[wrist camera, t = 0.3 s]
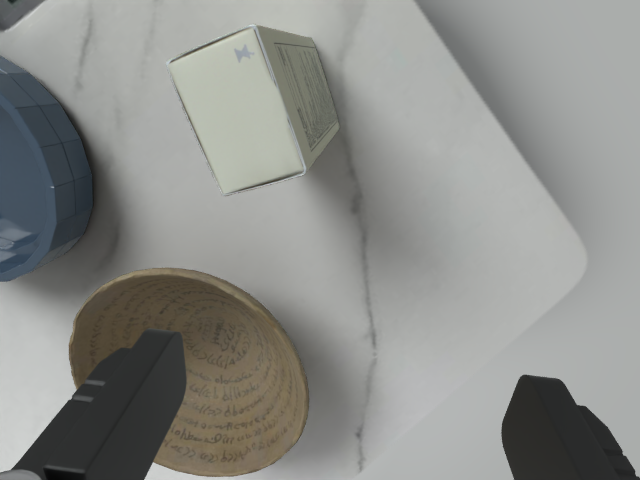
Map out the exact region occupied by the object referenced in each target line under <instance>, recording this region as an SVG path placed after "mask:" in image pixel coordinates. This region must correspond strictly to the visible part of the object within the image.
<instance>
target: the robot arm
mask: <svg viewBox="0 0 640 480" xmlns="http://www.w3.org/2000/svg"><path fill="white" fill-rule="evenodd" d="M186 383H187V377H186V367H185V357H184V347H183V338H182V334H181V333H180V332H177V331H168V330H160V329H152V328H148V329H146V330H145V331H144V332H143V333H142V335H141V336H140V337H139V339H138V340H137V341H136V343H135V344H134V345H133V347H132V348H131V349H130V348H122V347H121V348H120V349H118V350H117V351H115V352H114V353H112V354H111V355H109V356H108V357H106V358H105V359H103V360H102V361H100V362H99V364H98V365H97V366H96V367H95V369H94V370H93V371H92V372H91V373H90V375H89V376H88V377H87V378H86V380H85V383H84V384H81V386H80V387H79V388H78V389H77V391H76V392H75V393H74V394H73V396H72V399H71V400H68V402H67V403H66V404H65V405H64V407H63V408H62V409H61V410H60V411H59V413H58V414H57V415H56V416H55V418H54V419H53V420H52V421H51V422H50V424H49V425H48V426H47V427H46V429H45V430H44V431H43V432H42V434H41V435H40V436H39V437H38V438H37V440H36V441H35V442H34V443H33V445H32V446H31V447H30V448H29V449H28V451H27V452H26V453H25V454H24V456H23V457H22V458H21V459H20V461H19V462H18V463H17V464H16V465H15V466H14V467H13V468H12V469H11V470H9V471H4V472H1V473H0V480H144V479H145V477H146V475H147V473H148V471H149V469H150V467H151V465H152V463H153V461H154V459H155V457H156V455H157V453H158V451H159V449H160V447H161V445H162V443H163V441H164V439H165V437H166V435H167V433H168V431H169V428H170V426H171V424H172V422H173V420H174V418H175V416H176V414H177V412H178V410H179V408H180V406H181V404H182V402H183V399H184V395H185V391H186ZM502 443H503V448H504V451H505V454H506V456H507V460H508V463H509V466H510V468H511V471H512V474H513V477H514V480H640V478H639V477H637V476H636V475H635V470H634V468H633V467H632V465H631V464H630V462H629V460H628V459H627V457H626V456H623V454H622V449H621V448H620V446H619V445H618V443H617V441H616V440H615V438H614V437H613V435H612V433H611V432H610V430H609V429H608V427H607V426H606V425H605V424H603V423H602V422H601V421H600V420H599V419H598V418H597V417H596V416H595V415H594V414H593V413H592V412H591V411H590V410H589V409H588V408H587V407H586V406H579V405H576V403H575V401H574V399H573V398H572V396H571V394H570V392H569V391H568V389H567V387H566V386H565V384H564V383H563V382H562V381H561V380H559V379H556V378H547V377H539V376H531V375H522V376H521V377H520V379H519V380H518V383H517V385H516V388H515V391H514V393H513V396H512V398H511V401H510V403H509V406H508V409H507V411H506V414H505V416H504V419H503V423H502Z"/></svg>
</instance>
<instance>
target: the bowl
mask: <svg viewBox="0 0 640 480" xmlns="http://www.w3.org/2000/svg"><path fill="white" fill-rule="evenodd" d="M148 328H152V329H160V330H168V331H177V332H180V333H181V334H182V338H183V347H184V357H185V367H186V377H187V383H186V391H185V395H184V399H183V402H182V404H181V406H180V408H179V410H178V412H177V414H176V416H175V418H174V420H173V422H172V424H171V426H170V428H169V431H168V433H167V435H166V437H165V439H164V441H163V443H162V445H161V447H160V449H159V451H158V453H157V455H156V457H155V459H154V461H153V462H154V463H156V464H159V465H162V466H164V467H167V468H169V469H172V470H175V471H179V472H183V473H188V474H193V475H198V476H207V477H223V476H238V475H243V474H248V473H252V472H256V471H259V470H261V469H263V468H265V467H267V466H269V465H271V464H274V463H275V462H276V461H277V460H279V459H280V458H281V457H282V456H283V455H284V454H286V453H287V452H288V451H289V450H290V449H291V448H292V447H293V446H294V445H295V443H296V442H297V441H298V439H299V438H300V436H301V434H302V432H303V429H304V427H305V424H306V420H307V416H308V409H309V391H308V384H307V378H306V374H305V371H304V368H303V366H302V363H301V360H300V358H299V356H298V353H297V351H296V349H295V348H294V346H293V344H292V342H291V340H290V338H289V337H288V335H287V334H286V332H285V331H284V329H283V328H282V326H281V325H280V324H279V323H278V321H277V320H276V319H275V318H274V317H273V315H272V314H271V313H270V312H269V311H268V310H267V309H266V308H265V307H264V306H263V305H262V304H261V303H260V302H258V301H257V300H256V299H255V298H253V297H252V296H251V295H249V294H248V293H247V292H245V291H243V290H242V289H240V288H238V287H237V286H235V285H233V284H231V283H229V282H227V281H225V280H223V279H220V278H217V277H215V276H212V275H209V274H206V273H202V272H198V271H194V270H186V269H179V268H152V269H145V270H138V271H134V272H131V273H128V274H125V275H122V276H120V277H117V278H115V279H113V280H111V281H110V282H108V283H106V284H105V285H103V286H102V287H100V288H99V289H97V290H96V291H95V292H94V293H93V294H92V295H91V296H90V297H89V298H88V299H87V300H86V301H85V303H84V304H83V306H82V307H81V309H80V310H79V312H78V313H77V315H76V317H75V320H74V323H73V333H72V335H71V338H70V342H69V360H70V365H71V369H72V371H71V373H72V376H73V380H74V384H75V386H76V389H78V388H79V387H80V386H81V384H84V383H85V380H86V378H87V377H88V376H89V375H90V373H91V372H92V371H93V370H94V369H95V367H96V366H97V365H98V364H99V362H100V361H102V360H103V359H105V358H106V357H108V356H109V355H111V354H112V353H114V352H115V351H117V350H118V349H120V348H121V347H122V348H130V349H131V348H132V347H133V345H134V344H135V343H136V341H137V340H138V339H139V337H140V336H141V335H142V333H143V332H144V331H145V330H146V329H148Z"/></svg>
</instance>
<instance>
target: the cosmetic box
mask: <svg viewBox="0 0 640 480" xmlns="http://www.w3.org/2000/svg"><path fill="white" fill-rule="evenodd" d="M166 67H167V70H168V72H169V75H170V78H171V81H172V83H173V86H174V88H175V91H176V93H177V96H178V98H179V101H180V103H181V105H182V108H183V111H184V113H185V115H186V117H187V120H188V122H189V124H190V126H191V129H192V131H193V133H194V136H195V138H196V140H197V142H198V145H199V147H200V149H201V151H202V154H203V156H204V158H205V160H206V162H207V165H208V167H209V169H210V171H211V173H212V175H213V177H214V179H215V181H216V183H217V186H218V188H219V190H220V192H221V194H222V195H223V196H229V195H232V194H236V193H240V192H244V191H248V190H253V189H256V188H261V187H264V186H268V185H271V184H275V183H279V182H283V181H286V180H289V179H293V178H296V177H300V176H303V175H305V174H306V172H307V171H308V170H309V168H310V167H311V166H312V164H313V163H314V162H315V160H316V159H317V158H318V156H319V155H320V154H321V152H322V151H323V150H324V149H325V147H326V146H327V144H328V143H329V142H330V140H331V139H332V138H333V137H334V135H335V134H336V133H337V131H338V130H339V128H340V126H339V122H338V118H337V115H336V111H335V108H334V104H333V101H332V97H331V94H330V91H329V88H328V84H327V81H326V78H325V75H324V72H323V69H322V66H321V63H320V60H319V57H318V54H317V51H316V48H315V45H314V42H313V40H312V38H308V37H304V36H300V35H296V34H292V33H288V32H284V31H280V30H276V29H272V28H268V27H263V26H259V25H256V24H252V25H249V26H247V27H244V28H242V29H239V30H236V31H234V32H231V33H229V34H226V35H224V36H221V37H219V38H216V39H214V40H211V41H209V42H206V43H204V44H202V45H200V46H197V47H195V48H193V49H190V50H188V51H186V52H184V53H182V54H180V55H178V56H176V57H174V58H172V59H169V60H168V61H167V62H166Z"/></svg>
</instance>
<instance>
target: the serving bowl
mask: <svg viewBox="0 0 640 480" xmlns="http://www.w3.org/2000/svg"><path fill="white" fill-rule="evenodd" d="M91 174H92V173H91V170H90V167H89V164H88V160H87V157H86V154H85V151H84V148H83V144H82V141H81V138H80V137H79V135H78V133H77V132H76V130H75V128H74V127H73V125H72V123H71V122H70V120H69V118H68V117H67V115H66V113H65V112H64V110H63V108H62V107H61V105H60V104H59V103H58V102H57V101H56V99H55V98H54V97H53V96H52V95H51V94H50V93H49V92H48V91H47V90H46V89H45V88H44V87H43V86H42V85H41V84H40V83H39V82H38V81H37V80H36V79H35V78H34V77H33V76H32V75H31V74H30V73H28V72H26V71H25V70H23V69H22V68H20V67H18V66H17V65H15V64H13V63H12V62H10V61H8V60H7V59H5V58H3V57H2V56H0V282H7V281H11V280H13V279H16V278H18V277H20V276H23V275H25V274H27V273H30V272H32V271H34V270H36V269H37V268H39V267H41V266H43V265H45V264H47V263H48V262H50V261H52V260H54V259H56V258H57V257H59V256H61V255H63V254H65V253H67V252H68V251H69V250H70V249H71V248H72V246H73V245H74V244H75V243H76V242H77V241H78V240H79V239H80V237H81V236H82V235H83V234H84V232H85V229H86V226H87V223H88V220H89V217H90V214H91V211H92V208H93V189H92V175H91Z"/></svg>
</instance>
